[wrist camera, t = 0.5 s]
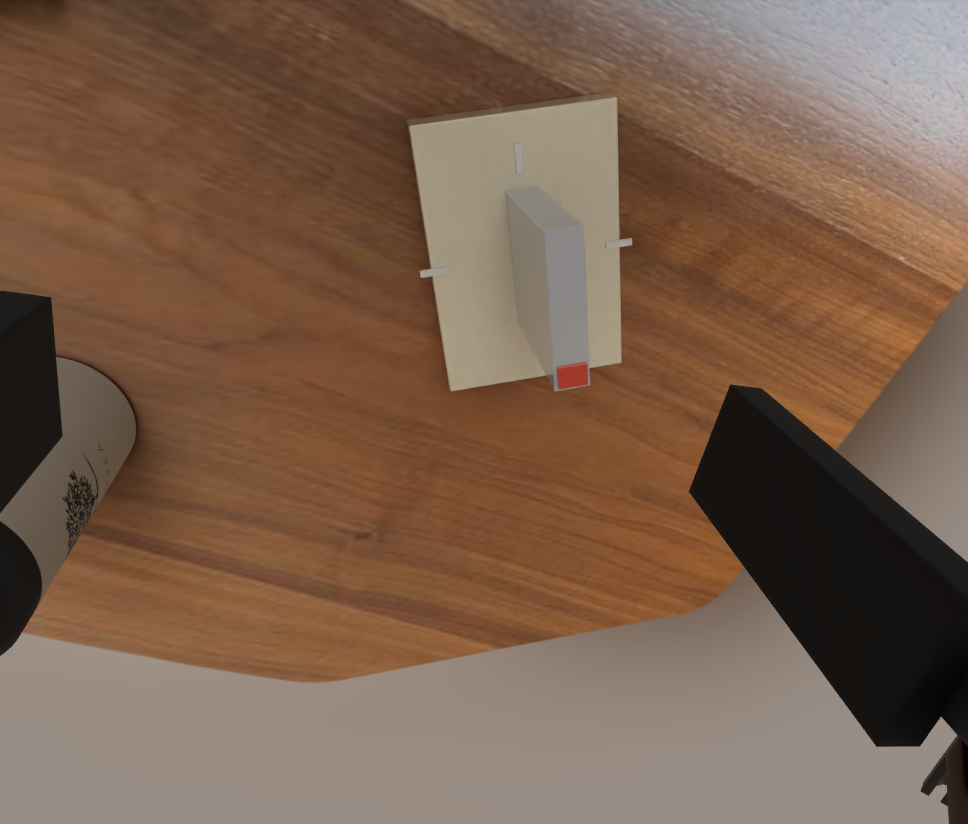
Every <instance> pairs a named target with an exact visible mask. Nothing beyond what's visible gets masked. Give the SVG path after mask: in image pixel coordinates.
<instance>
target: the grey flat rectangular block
mask: <svg viewBox="0 0 968 824" xmlns="http://www.w3.org/2000/svg"><path fill="white" fill-rule="evenodd" d="M506 201H507V212H508V222H509V233H510V244H511V254H512V265H513V275H514V286H515V296H516V307H517V317H518V323H519V325H520V327H521V329H522V331H523V333H524V334H525V336H526V338H527V340H528V342H529V344H530V346H531V348H532V349H533V351H534V353H535V355H536V357H537V359H538V361H539V363H540V364H541V366H542V368H543V370H544V372H545V374H546V376H547V378H548V379H549V381H550V383H551V385H552V387H553V389H554V391H561V390H567V389H573V388H578V387H584V386H589V385H590V369H589V345H588V321H587V297H586V274H585V250H584V226H583V224H581V223H580V222H579V221H578V220H577V219H575V218H574V217H573V216H572V215H571V214H569V213H568V212H567V211H566V210H565V209H563V208H562V207H561V206H560V205H559V204H557V203H556V202H555V201H554V200H553V199H551V198H550V197H549V196H548V195H547V194H545V193H544V192H543V191H542V190H541V189H539V188H538V187H537V186H534V187H528V188H521V189H514V190H507V191H506Z"/></svg>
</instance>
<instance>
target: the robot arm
mask: <svg viewBox="0 0 968 824" xmlns="http://www.w3.org/2000/svg"><path fill="white" fill-rule="evenodd" d="M62 437H63V433H62V421H61V410H60V398H59V386H58V374H57V362H56V351H55V339H54V327H53V315H52V303H51V297H45V296H37V295H29V294H21V293H14V292H6V291H0V513H1V512H2V511H3V509H4V508H5V507H6V506H7V505H8V503H9V502H10V501H11V500H12V498H13V497H14V496H15V495H16V493H17V492H18V491H19V490H20V488H21V487H22V486H23V485H24V484H25V482H26V481H27V480H28V479H29V477H30V476H31V475H32V474H33V472H34V471H35V470H36V469H37V467H38V466H39V465H40V464H41V463H42V461H43V460H44V459H45V458H46V456H47V455H48V454H49V453H50V451H51V450H52V449H53V448H54V446H55V445H56V444H57V443H58V442H59V440H60V439H61V438H62ZM689 492H690V494H691V495H692V497H693V498H694V499H695V501H696V502H697V503H698V505H699V506H700V507H701V509H702V510H703V511H704V513H705V514H706V516H707V517H708V518H709V520H710V521H711V522H712V524H713V525H714V526H715V528H716V529H717V530H718V532H719V533H720V535H721V536H722V537H723V539H724V540H725V541H726V543H727V544H728V545H729V547H730V548H731V549H732V551H733V552H734V554H735V555H736V556H737V558H738V559H739V560H740V562H741V563H742V564H743V566H744V567H745V569H746V570H747V571H748V573H749V574H750V575H751V577H752V578H753V579H754V581H755V582H756V583H757V585H758V586H759V588H760V589H761V590H762V592H763V593H764V594H765V596H766V597H767V598H768V600H769V601H770V602H771V604H772V605H773V607H774V608H775V609H776V611H777V612H778V613H779V615H780V616H781V617H782V619H783V620H784V621H785V623H786V624H787V626H788V627H789V628H790V630H791V631H792V632H793V634H794V635H795V636H796V638H797V639H798V641H799V642H800V643H801V645H802V646H803V647H804V649H805V650H806V651H807V653H808V654H809V655H810V657H811V658H812V660H813V661H814V662H815V664H816V665H817V666H818V668H819V669H820V670H821V672H822V673H823V674H824V676H825V677H826V679H827V680H828V681H829V683H830V684H831V685H832V687H833V688H834V689H835V691H836V692H837V694H838V695H839V696H840V698H841V699H842V700H843V701H844V703H845V704H846V706H847V707H848V708H849V710H850V711H851V712H852V714H853V715H854V717H855V718H856V719H857V721H858V722H859V723H860V725H861V726H862V728H863V729H864V730H865V732H866V733H867V734H868V736H869V737H870V738H871V740H872V741H873V742H874V744H875V745H876V746H877V747H884V746H885V747H887V746H889V747H891V746H921V744H922V743H923V741H924V740H925V739H926V737H927V736H928V734H929V733H930V731H931V730H932V728H933V727H934V726H935V724H936V723H937V721H938V720H939V718H940V717H942V718H943V719H944V720H945V721H946V722H947V724H949V726H950V727H951V728H952V729H953V730H954V731H955V733H956V734H957V737H956V738H955V739H954V741H953V742H952V743H951V745H950V746H949V748H948V749H947V750H946V752H945V753H944V754H943V756H942V757H941V759H940V760H939V761H938V763H937V764H936V765H935V767H934V768H933V770H932V771H931V773H930V774H929V775H928V776H927V778H926V779H925V781H924V782H923V786H922V788H921V792H923V793H925V794H926V795H928V796H929V795H930V793H931V792H932V791H933V789H934V788H935V787H936V786H938V785H942V784H944V785H947V793H946V795H945V796H944V797H943V799H942V800H941V803H943V804H945V805H946V806H948V814H949V824H968V562H967V561H965V560H964V559H963V558H962V557H961V556H959V555H958V554H957V553H956V552H955V551H954V550H952V549H951V548H950V547H949V546H948V545H946V544H945V543H944V542H943V541H942V540H941V539H939V538H938V537H937V536H936V535H934V534H933V533H932V532H931V531H930V530H929V529H928V528H926V527H925V526H924V525H923V524H922V523H920V522H919V521H918V520H917V519H916V518H914V517H913V516H912V515H911V514H910V513H909V512H907V511H906V510H905V509H904V508H903V507H901V506H900V505H899V504H898V503H897V502H896V501H894V500H893V499H892V498H891V497H890V496H888V495H887V494H886V493H885V492H884V491H882V490H881V489H880V488H879V487H878V486H876V485H875V484H874V483H873V482H872V481H871V480H869V479H868V478H867V477H866V476H865V475H864V474H862V473H861V472H860V471H859V470H857V469H856V468H855V467H854V466H853V465H851V464H850V463H849V462H848V461H847V460H846V459H845V458H843V457H842V456H841V455H840V454H839V453H837V452H836V451H835V450H834V449H833V448H832V447H830V446H829V445H828V444H827V443H826V442H824V441H823V440H822V439H821V438H820V437H819V436H817V435H816V434H815V433H814V432H813V431H811V430H810V429H809V428H808V427H807V426H805V425H804V424H803V423H802V422H801V421H800V420H798V419H797V418H796V417H795V416H794V415H792V414H791V413H790V412H789V411H788V410H787V409H785V408H784V407H783V406H782V405H781V404H779V403H778V402H777V401H776V400H775V399H773V398H772V397H771V396H770V395H769V394H768V393H766V392H765V391H764V390H763V389H761V388H753V387H745V386H737V385H730V387H729V389H728V392H727V395H726V397H725V400H724V402H723V405H722V407H721V410H720V413H719V415H718V418H717V420H716V423H715V425H714V428H713V431H712V433H711V436H710V438H709V441H708V444H707V446H706V449H705V451H704V454H703V456H702V459H701V462H700V464H699V467H698V469H697V472H696V475H695V477H694V480H693V482H692V485H691V487H690V490H689Z"/></svg>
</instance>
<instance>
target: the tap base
mask: <svg viewBox="0 0 968 824" xmlns="http://www.w3.org/2000/svg"><path fill="white" fill-rule="evenodd" d="M406 123H407V129H408V135H409V142H410V148H411V154H412V161H413V167H414V174H415V180H416V186H417V193H418V199H419V206H420V212H421V218H422V225H423V231H424V238H425V244H426V250H427V257H428V263H429V269H426V270H420V277H421V278H424V277H431V282H432V289H433V295H434V301H435V308H436V314H437V321H438V327H439V333H440V340H441V346H442V353H443V359H444V365H445V371H446V375H447V380H448V384H449V389H450V391H457V390H463V389H469V388H475V387H481V386H487V385H493V384H499V383H505V382H511V381H517V380H523V379H528V378H534V377H540V376H546V374H545V372H544V370H543V368H542V366H541V364H540V363H539V361H538V359H537V357H536V355H535V353H534V351H533V349H532V348H531V346H530V344H529V342H528V340H527V338H526V336H525V334H524V333H523V331H522V329H521V327H520V325H519V323H518V317H517V307H516V296H515V286H514V275H513V265H512V254H511V244H510V233H509V222H508V212H507V201H506V191H507V190H514V189H521V188H528V187H534V186H537V187H538V188H539V189H541V190H542V191H543V192H544V193H545V194H547V195H548V196H549V197H550V198H551V199H553V200H554V201H555V202H556V203H557V204H559V205H560V206H561V207H562V208H563V209H565V210H566V211H567V212H568V213H569V214H571V215H572V216H573V217H574V218H575V219H577V220H578V221H579V222H580V223H581V224H583V226H584V250H585V274H586V297H587V321H588V345H589V368H594V367H600V366H606V365H612V364H618V363H621V362H622V358H621V298H620V247H624V246H630V245H632V238H627V239H621V240H620V237H619V176H618V116H617V97H612V96H607V95H602V94H592V95H585V96H578V97H571V98H563V99H556V100H549V101H542V102H535V103H527V104H520V105H513V106H506V107H498V108H491V109H484V110H477V111H469V112H462V113H455V114H448V115H440V116H433V117H426V118H419V119H412V120H407V122H406Z"/></svg>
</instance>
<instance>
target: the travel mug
mask: <svg viewBox="0 0 968 824" xmlns="http://www.w3.org/2000/svg"><path fill="white" fill-rule="evenodd" d="M56 362H57V374H58V386H59V398H60V410H61V421H62V433H63V437H62V438H61V439H60V440H59V442H58V443H57V444H56V445H55V446H54V448H53V449H52V450H51V451H50V453H49V454H48V455H47V456H46V458H45V459H44V460H43V461H42V463H41V464H40V465H39V466H38V467H37V469H36V470H35V471H34V472H33V474H32V475H31V476H30V477H29V479H28V480H27V481H26V482H25V484H24V485H23V486H22V487H21V488H20V490H19V491H18V492H17V493H16V495H15V496H14V497H13V498H12V500H11V501H10V502H9V503H8V505H7V506H6V507H5V508H4V509H3V511H2V512H1V513H0V656H1V655H2V654H3V653H5V652H6V651H7V650H8V649H9V648H11V647H12V645H13V644H14V643H15V642H16V641H17V639H18V638H19V636H20V634H21V633H22V631H23V629H24V628H25V626H26V624H27V623H28V621H29V619H30V618H31V616H32V615H33V613H34V611H35V610H36V608H37V606H38V605H39V603H40V601H41V600H42V598H43V596H44V595H45V593H46V591H47V590H48V588H49V586H50V585H51V583H52V581H53V580H54V578H55V576H56V575H57V573H58V571H59V570H60V568H61V566H62V565H63V563H64V561H65V560H66V558H67V556H68V555H69V553H70V551H71V550H72V548H73V546H74V545H75V543H76V541H77V540H78V538H79V536H80V535H81V533H82V531H83V530H84V528H85V526H86V525H87V523H88V521H89V520H90V518H91V516H92V515H93V513H94V511H95V510H96V508H97V506H98V505H99V503H100V501H101V500H102V498H103V496H104V495H105V493H106V491H107V490H108V488H109V486H110V485H111V483H112V481H113V480H114V478H115V476H116V475H117V473H118V471H119V470H120V468H121V466H122V465H123V463H124V461H125V460H126V458H127V456H128V455H129V453H130V451H131V449H132V447H133V445H134V442H135V437H136V423H135V417H134V414H133V411H132V409H131V406H130V404H129V403H128V401H127V399H126V398H125V396H124V395H123V393H122V392H121V391H120V390H119V389H118V388H117V387H116V386H115V385H114V384H113V383H112V382H111V381H110V380H109V379H108V378H106V377H105V376H104V375H102V374H101V373H99V372H97V371H96V370H94V369H92V368H90V367H88V366H86V365H84V364H81V363H79V362H76V361H73V360H69V359H65V358H59V357H56Z"/></svg>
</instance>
